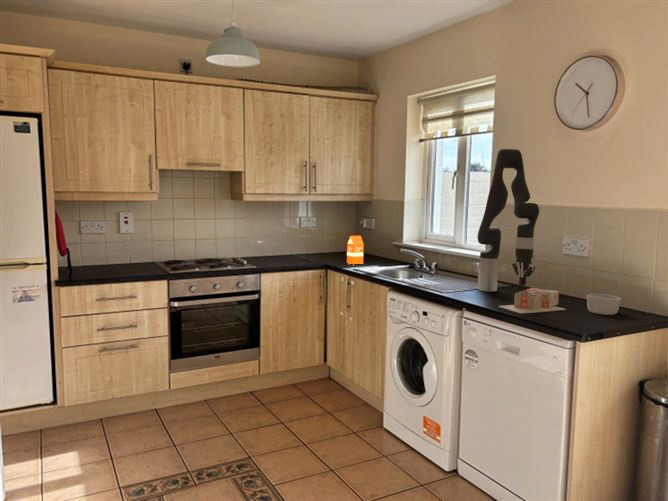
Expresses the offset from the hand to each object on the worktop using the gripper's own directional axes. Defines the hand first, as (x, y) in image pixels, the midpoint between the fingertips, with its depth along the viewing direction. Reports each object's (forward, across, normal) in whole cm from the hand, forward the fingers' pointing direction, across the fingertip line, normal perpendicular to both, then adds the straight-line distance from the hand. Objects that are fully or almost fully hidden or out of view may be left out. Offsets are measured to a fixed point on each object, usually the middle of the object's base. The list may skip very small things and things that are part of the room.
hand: (522, 285), depth 240 cm
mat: (+9, +7, 0) cm, 11 cm away
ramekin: (+10, +22, +25) cm, 35 cm away
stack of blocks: (+6, -1, +2) cm, 6 cm away
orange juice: (+9, -148, -18) cm, 150 cm away
